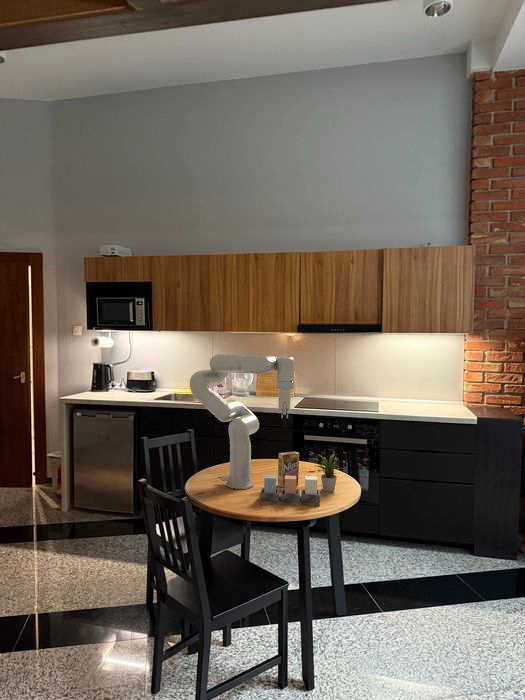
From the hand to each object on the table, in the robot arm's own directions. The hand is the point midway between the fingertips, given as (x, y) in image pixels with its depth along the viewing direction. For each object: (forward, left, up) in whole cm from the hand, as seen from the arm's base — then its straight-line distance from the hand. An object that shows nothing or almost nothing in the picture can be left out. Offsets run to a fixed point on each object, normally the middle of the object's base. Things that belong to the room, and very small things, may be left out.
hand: (284, 426), depth 220 cm
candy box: (+2, +10, -29) cm, 31 cm away
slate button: (-5, -11, -26) cm, 29 cm away
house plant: (+20, +7, -29) cm, 36 cm away
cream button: (+12, -11, -26) cm, 31 cm away
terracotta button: (+3, -11, -26) cm, 28 cm away
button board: (+3, -11, -29) cm, 31 cm away
